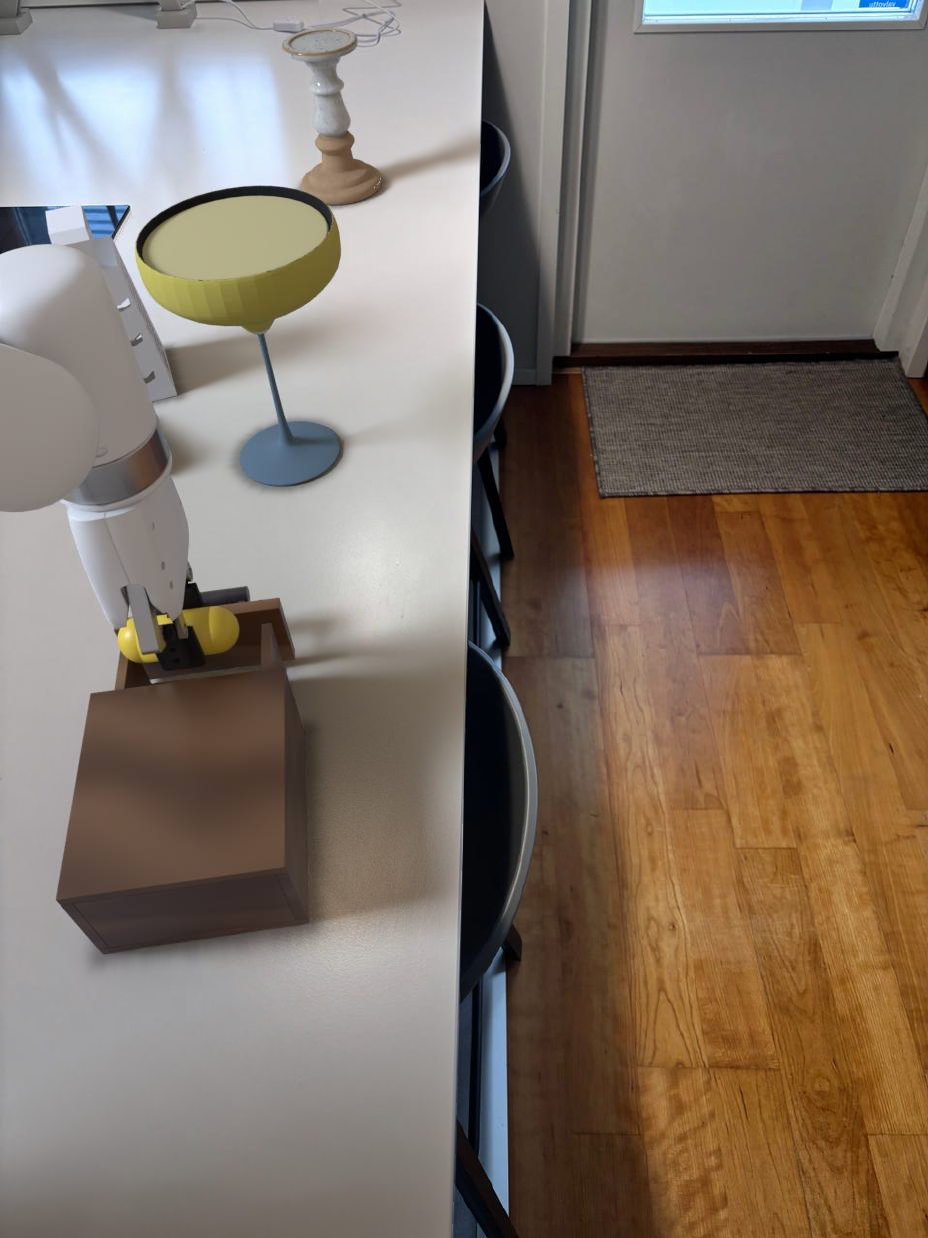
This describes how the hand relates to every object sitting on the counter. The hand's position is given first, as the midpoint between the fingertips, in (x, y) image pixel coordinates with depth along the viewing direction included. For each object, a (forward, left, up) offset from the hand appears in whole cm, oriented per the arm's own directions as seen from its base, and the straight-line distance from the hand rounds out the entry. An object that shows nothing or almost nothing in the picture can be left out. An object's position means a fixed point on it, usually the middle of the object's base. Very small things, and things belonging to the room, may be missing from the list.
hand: (186, 642), depth 72 cm
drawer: (0, 0, -9) cm, 9 cm away
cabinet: (-6, -10, -10) cm, 15 cm away
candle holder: (+61, +77, -10) cm, 99 cm away
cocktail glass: (+22, +26, -10) cm, 36 cm away
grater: (+14, +51, -10) cm, 54 cm away
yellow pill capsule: (0, +1, 0) cm, 1 cm away
